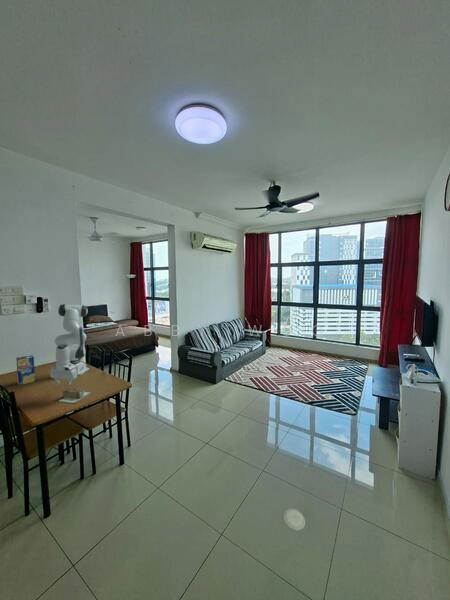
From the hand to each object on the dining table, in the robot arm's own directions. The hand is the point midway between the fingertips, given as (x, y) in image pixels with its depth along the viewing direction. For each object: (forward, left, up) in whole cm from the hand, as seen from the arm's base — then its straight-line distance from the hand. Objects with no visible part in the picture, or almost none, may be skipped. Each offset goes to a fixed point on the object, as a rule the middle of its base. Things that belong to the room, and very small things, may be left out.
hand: (63, 384), depth 184 cm
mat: (0, +9, -10) cm, 14 cm away
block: (0, +1, -6) cm, 7 cm away
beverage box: (-16, -52, -10) cm, 55 cm away
